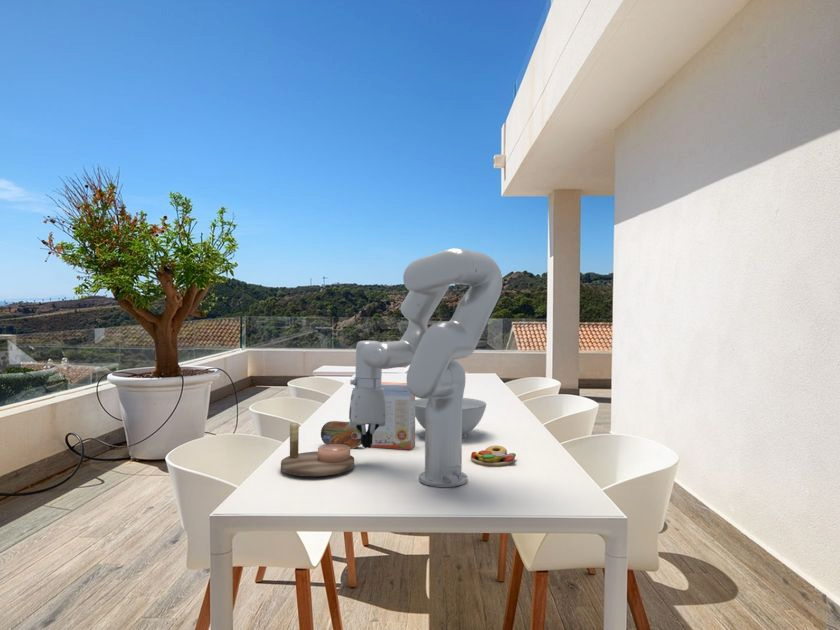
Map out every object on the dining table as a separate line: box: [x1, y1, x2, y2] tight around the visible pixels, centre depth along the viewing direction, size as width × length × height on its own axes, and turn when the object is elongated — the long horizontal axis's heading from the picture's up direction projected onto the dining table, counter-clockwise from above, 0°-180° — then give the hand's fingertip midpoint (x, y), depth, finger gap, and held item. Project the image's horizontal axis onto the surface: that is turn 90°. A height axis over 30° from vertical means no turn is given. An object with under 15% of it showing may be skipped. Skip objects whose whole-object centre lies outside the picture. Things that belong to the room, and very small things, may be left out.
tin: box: [320, 420, 362, 450], centre depth 175 cm, size 15×3×8 cm, turn 72°
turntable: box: [280, 422, 355, 477], centre depth 148 cm, size 20×20×11 cm
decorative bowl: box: [415, 397, 487, 440], centre depth 191 cm, size 27×27×12 cm
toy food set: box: [470, 445, 517, 467], centre depth 158 cm, size 13×13×3 cm
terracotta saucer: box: [317, 444, 351, 463], centre depth 150 cm, size 9×9×3 cm
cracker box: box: [371, 381, 416, 451], centre depth 175 cm, size 14×6×21 cm, turn 75°
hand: (366, 446), depth 154 cm, fingers closed
